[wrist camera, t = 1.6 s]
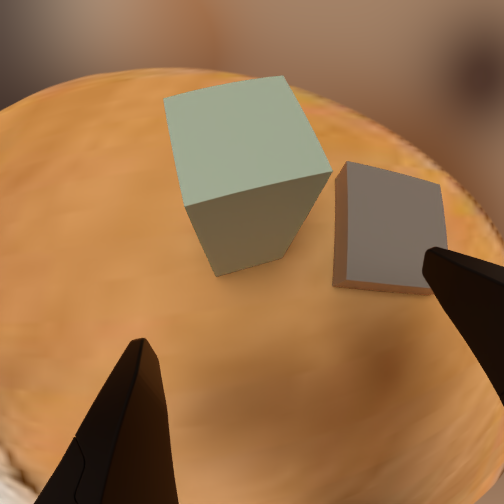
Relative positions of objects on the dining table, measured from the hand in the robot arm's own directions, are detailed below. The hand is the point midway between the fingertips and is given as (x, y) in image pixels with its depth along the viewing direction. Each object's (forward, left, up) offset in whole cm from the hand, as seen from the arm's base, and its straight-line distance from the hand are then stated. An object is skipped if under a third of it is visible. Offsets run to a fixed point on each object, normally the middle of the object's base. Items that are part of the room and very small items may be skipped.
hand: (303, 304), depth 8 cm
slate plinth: (+1, -12, -13) cm, 17 cm away
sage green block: (+6, -1, -13) cm, 14 cm away
